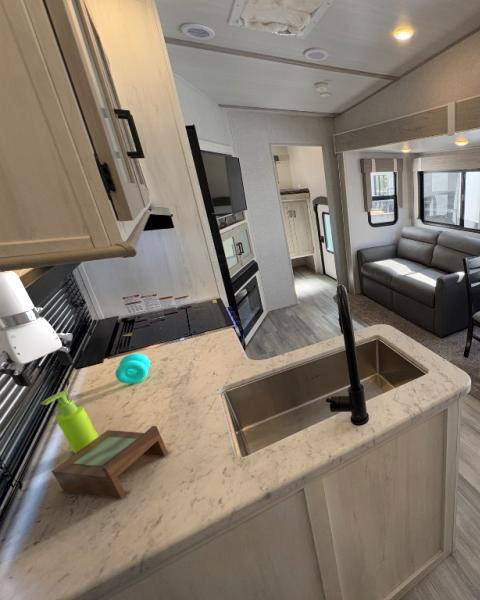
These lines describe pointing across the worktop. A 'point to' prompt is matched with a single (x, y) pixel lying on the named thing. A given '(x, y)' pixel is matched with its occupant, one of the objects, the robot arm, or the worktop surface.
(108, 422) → the worktop surface
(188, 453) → the worktop surface
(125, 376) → the turquoise spool
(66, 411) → the soap dispenser
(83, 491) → the wooden picture frame
